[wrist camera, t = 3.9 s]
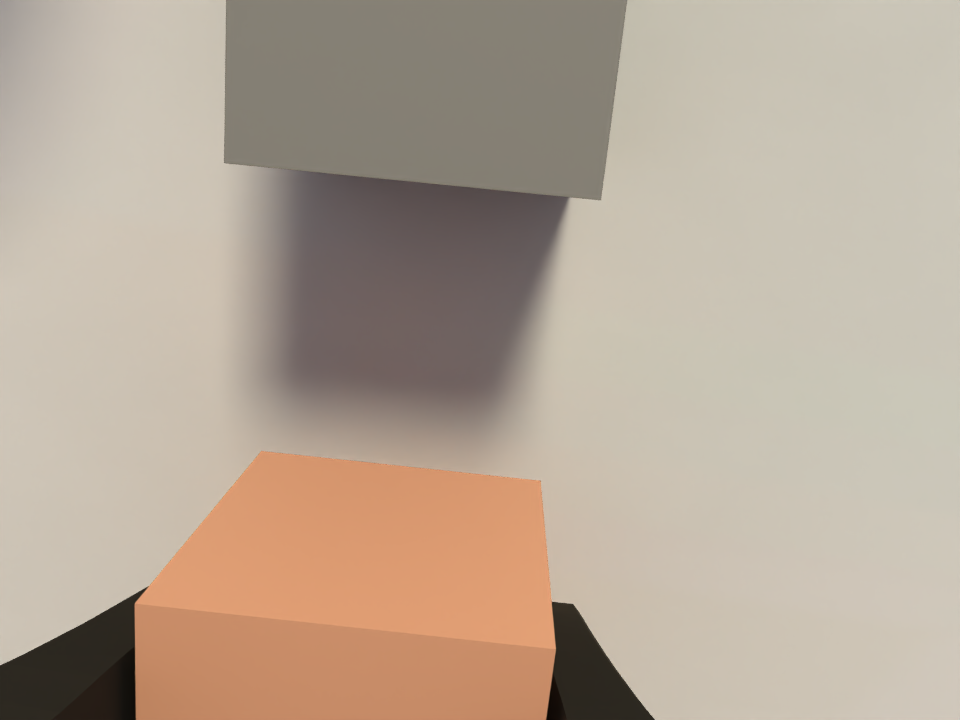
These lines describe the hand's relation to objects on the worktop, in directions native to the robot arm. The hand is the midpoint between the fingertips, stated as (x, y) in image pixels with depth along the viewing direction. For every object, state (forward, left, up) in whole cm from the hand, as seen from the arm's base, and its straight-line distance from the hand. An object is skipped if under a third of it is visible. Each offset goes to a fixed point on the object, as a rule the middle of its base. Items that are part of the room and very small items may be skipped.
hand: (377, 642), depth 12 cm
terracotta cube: (0, 0, -2) cm, 2 cm away
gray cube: (+7, +6, -4) cm, 10 cm away
